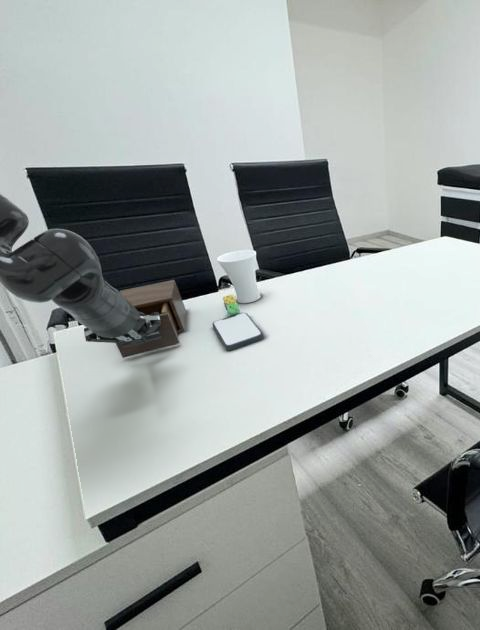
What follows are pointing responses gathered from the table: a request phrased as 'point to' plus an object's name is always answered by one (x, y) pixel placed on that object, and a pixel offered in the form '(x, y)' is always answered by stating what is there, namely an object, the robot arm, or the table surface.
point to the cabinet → (159, 299)
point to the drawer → (154, 332)
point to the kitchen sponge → (231, 305)
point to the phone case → (237, 331)
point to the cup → (241, 273)
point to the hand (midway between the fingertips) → (140, 340)
